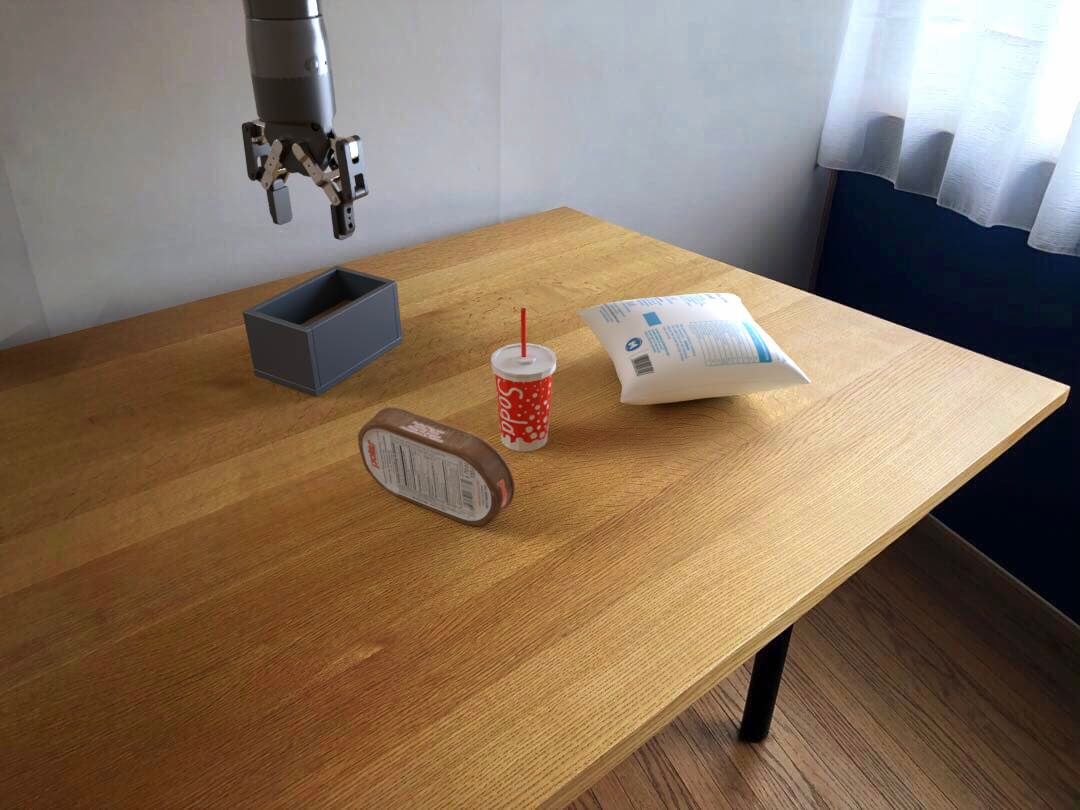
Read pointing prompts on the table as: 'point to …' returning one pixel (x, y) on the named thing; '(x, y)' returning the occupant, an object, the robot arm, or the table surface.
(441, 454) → the tin
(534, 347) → the beverage cup
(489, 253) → the table surface
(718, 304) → the pouch
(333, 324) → the bin
